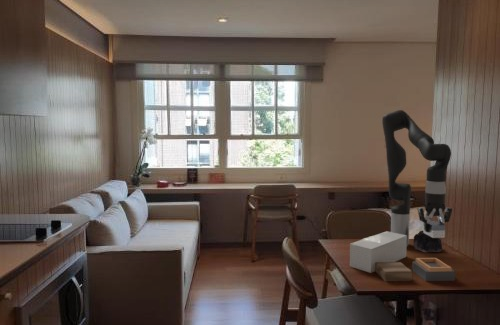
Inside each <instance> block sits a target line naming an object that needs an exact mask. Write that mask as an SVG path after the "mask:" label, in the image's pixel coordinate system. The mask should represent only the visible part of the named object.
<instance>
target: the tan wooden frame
mask: <svg viewBox="0 0 500 325" xmlns="http://www.w3.org/2000/svg"><path fill="white" fill-rule="evenodd" d="M411 263H412V264H411V267H412V268H411V271H412V273H414V274H416V275H417V276H419V277H420V278H421V279H423V281H425V282H452V281H453V282H455V280H456V277H455V276H456V271H455V270H454V269H453V268H452V266H450V265H448V264H446V263H445V262H443V261H442V260H440V259H438V258H437V257H415V260H414V261H412V262H411Z"/></svg>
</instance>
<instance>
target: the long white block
mask: <svg viewBox="0 0 500 325" xmlns="http://www.w3.org/2000/svg"><path fill="white" fill-rule="evenodd" d="M406 237H407V235H402V234H398V233H393V232H391V231H387V230H386V231H384V232H381V233H378V234H375V235H374V234H373V235H372V236H368V237H364V238H362V239H359V240H357V241H355V242H351V243H350V244H349V267H351V268H353V269H357V270H360V271H364V272H367V273H374V272H375V262H399V261H400V260H402V259H404V258H406V257H407V247H408V246H407V244H406V243H407V242H406V241H407V240H406V239H407V238H406Z"/></svg>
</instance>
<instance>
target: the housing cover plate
mask: <svg viewBox="0 0 500 325" xmlns="http://www.w3.org/2000/svg"><path fill="white" fill-rule="evenodd" d="M429 224H430V227H429V229H431V230H433V231H443V230H445V231H446V225H445V224H444V225H443V224H440V223H439V221H437V220H430V223H429ZM422 226H424V223H423V225H422Z"/></svg>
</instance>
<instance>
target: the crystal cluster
mask: <svg viewBox="0 0 500 325" xmlns="http://www.w3.org/2000/svg"><path fill="white" fill-rule="evenodd" d="M413 246H414V249H415V250H417V251H419V252H422V253H440V252H442V250H443V243H442V239H441V238H432V237H430V236H429V235H427V234H425V233H423V230H419V232H417V233H416V234H414V235H413Z"/></svg>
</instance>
